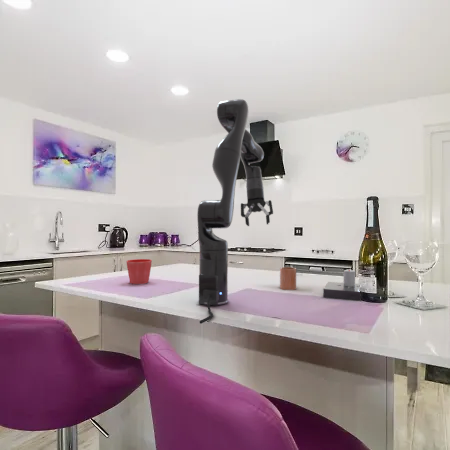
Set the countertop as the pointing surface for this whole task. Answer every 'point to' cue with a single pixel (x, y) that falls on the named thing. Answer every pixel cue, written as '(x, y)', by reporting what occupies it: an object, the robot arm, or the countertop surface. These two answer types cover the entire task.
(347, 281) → the stove knob
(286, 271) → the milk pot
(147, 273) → the flower pot
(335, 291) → the stove
